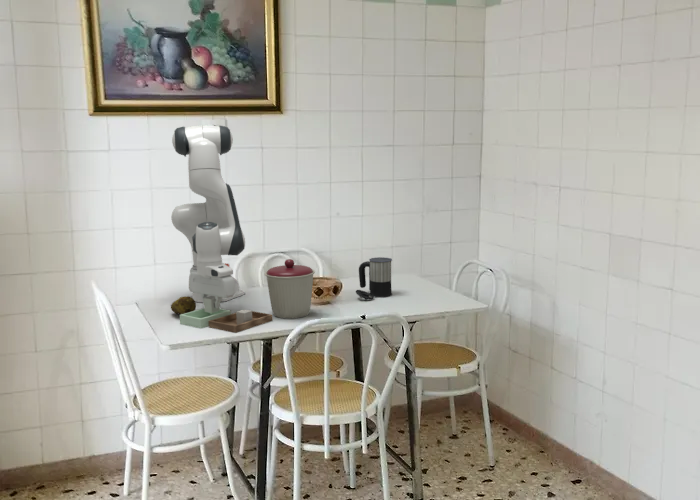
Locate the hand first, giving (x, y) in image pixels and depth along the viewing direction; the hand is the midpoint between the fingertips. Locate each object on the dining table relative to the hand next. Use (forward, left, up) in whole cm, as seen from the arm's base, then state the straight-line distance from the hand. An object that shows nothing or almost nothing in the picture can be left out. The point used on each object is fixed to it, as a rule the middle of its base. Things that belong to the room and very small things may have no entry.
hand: (212, 306), depth 261 cm
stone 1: (0, 0, -2) cm, 2 cm away
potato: (0, -15, -6) cm, 16 cm away
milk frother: (-61, +27, -6) cm, 67 cm away
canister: (-21, +19, -6) cm, 29 cm away
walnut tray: (-1, +13, -5) cm, 14 cm away
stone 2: (0, +16, -5) cm, 16 cm away
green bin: (+3, 0, -5) cm, 6 cm away
